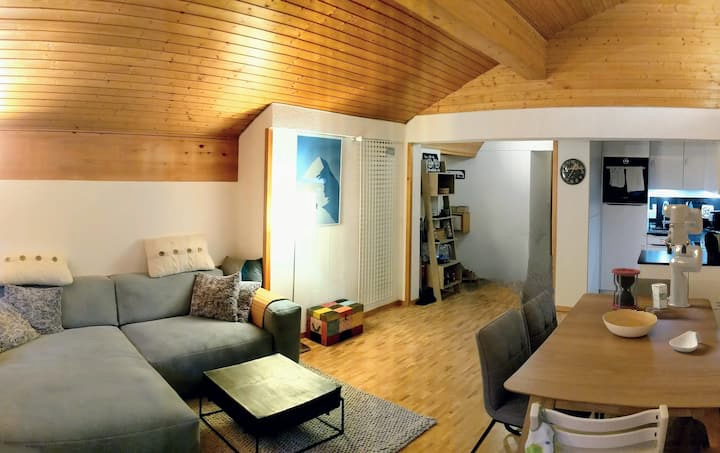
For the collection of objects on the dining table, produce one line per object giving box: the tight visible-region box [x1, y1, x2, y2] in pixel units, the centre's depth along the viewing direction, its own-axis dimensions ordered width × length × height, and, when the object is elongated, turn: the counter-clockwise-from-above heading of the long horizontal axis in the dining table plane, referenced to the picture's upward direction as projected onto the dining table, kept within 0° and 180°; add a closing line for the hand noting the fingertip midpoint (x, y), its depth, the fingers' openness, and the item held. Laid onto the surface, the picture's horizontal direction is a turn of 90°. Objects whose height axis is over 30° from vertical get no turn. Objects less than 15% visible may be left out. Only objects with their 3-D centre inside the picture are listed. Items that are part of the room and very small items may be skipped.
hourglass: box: [610, 267, 641, 311], centre depth 334 cm, size 16×16×25 cm
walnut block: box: [644, 305, 677, 320], centre depth 317 cm, size 12×12×5 cm
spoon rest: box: [669, 330, 703, 353], centre depth 259 cm, size 24×12×7 cm, turn 130°
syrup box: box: [651, 282, 669, 309], centre depth 316 cm, size 6×6×14 cm
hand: (676, 253), depth 321 cm, fingers open, 9 cm apart
